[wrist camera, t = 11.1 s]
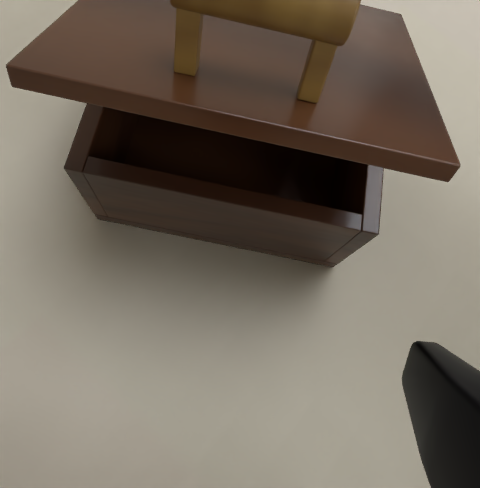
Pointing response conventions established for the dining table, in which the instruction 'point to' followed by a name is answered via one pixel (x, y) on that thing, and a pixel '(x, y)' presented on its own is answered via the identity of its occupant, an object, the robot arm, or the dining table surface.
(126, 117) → the tea box
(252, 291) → the dining table surface
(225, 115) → the tea lid
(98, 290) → the dining table surface
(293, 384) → the dining table surface
